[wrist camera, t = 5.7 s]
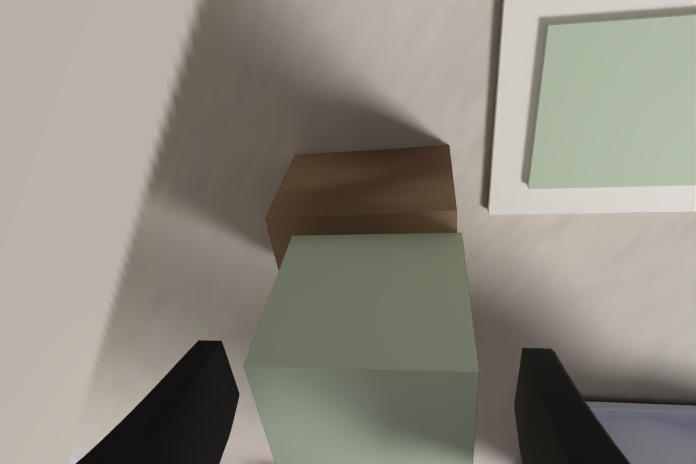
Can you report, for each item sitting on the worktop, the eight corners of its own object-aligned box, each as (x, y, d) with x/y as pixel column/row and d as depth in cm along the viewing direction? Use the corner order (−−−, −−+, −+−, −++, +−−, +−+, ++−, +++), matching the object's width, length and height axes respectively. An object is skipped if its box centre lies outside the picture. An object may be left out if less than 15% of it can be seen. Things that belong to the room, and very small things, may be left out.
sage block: (462, 232, 13) (479, 371, 9) (457, 353, 15) (470, 501, 11) (291, 235, 13) (243, 365, 10) (315, 350, 16) (283, 488, 12)
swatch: (811, -49, 12) (829, -46, 11) (716, 205, 16) (726, 216, 15) (504, -22, 13) (507, -19, 12) (487, 210, 17) (489, 219, 16)
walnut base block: (449, 143, 16) (456, 210, 12) (450, 268, 18) (457, 349, 15) (296, 153, 16) (265, 218, 13) (319, 271, 19) (298, 348, 16)
